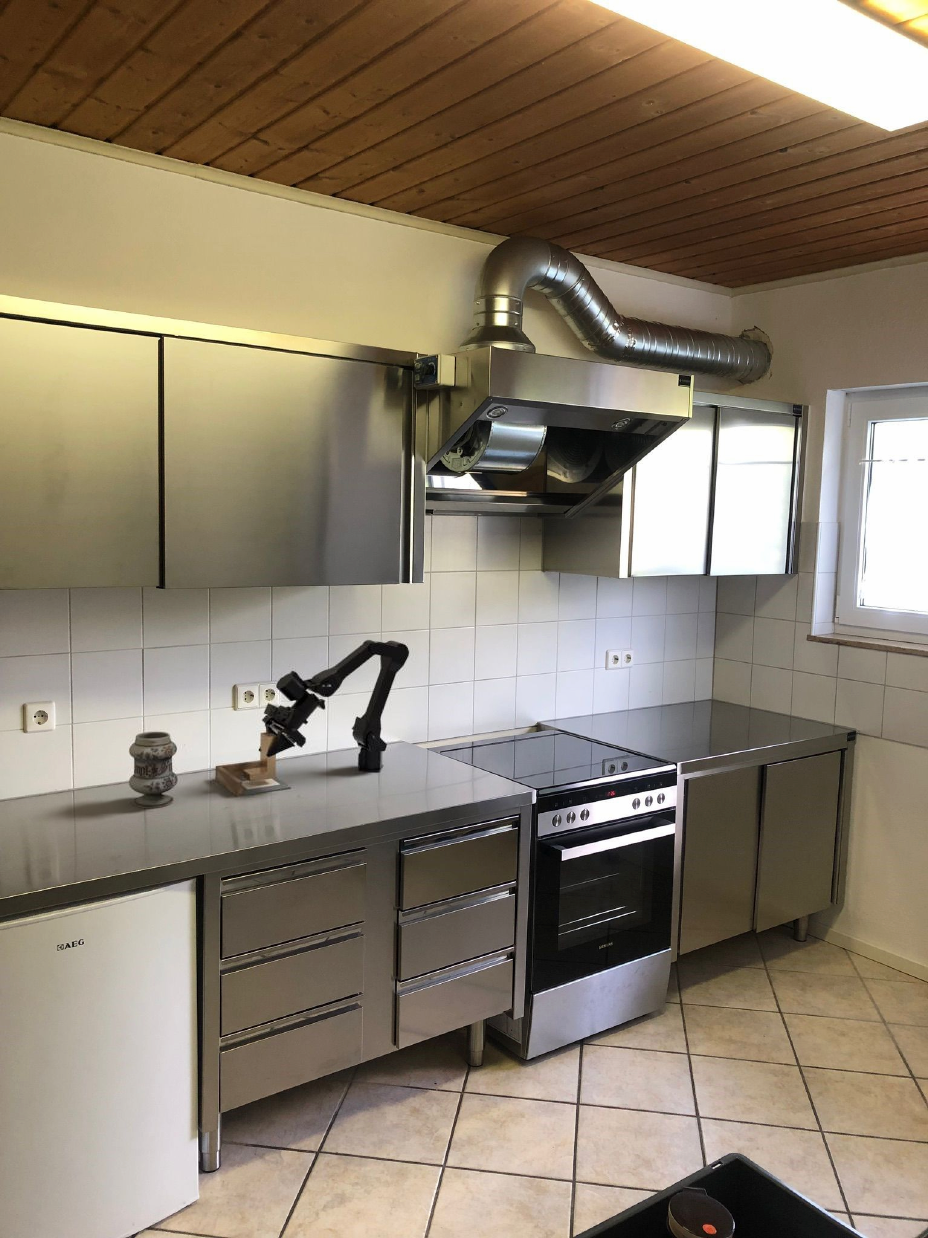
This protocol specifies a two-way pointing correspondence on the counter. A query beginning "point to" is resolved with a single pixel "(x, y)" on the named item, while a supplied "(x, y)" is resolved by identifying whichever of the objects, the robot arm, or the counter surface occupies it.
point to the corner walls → (234, 775)
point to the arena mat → (262, 786)
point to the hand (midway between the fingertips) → (263, 754)
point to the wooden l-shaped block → (263, 761)
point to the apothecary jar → (153, 769)
